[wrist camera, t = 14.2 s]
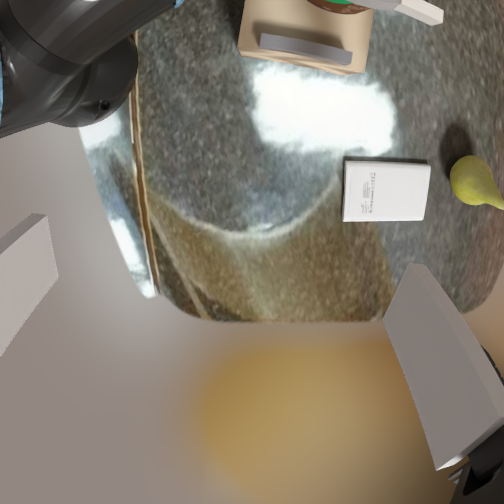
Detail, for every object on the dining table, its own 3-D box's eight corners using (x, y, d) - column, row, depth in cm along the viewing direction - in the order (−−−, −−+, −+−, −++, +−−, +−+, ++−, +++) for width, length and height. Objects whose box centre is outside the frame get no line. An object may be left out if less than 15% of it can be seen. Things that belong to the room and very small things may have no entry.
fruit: (460, 141, 33) (514, 165, 23) (483, 175, 35) (533, 206, 25) (434, 173, 36) (484, 206, 26) (458, 205, 38) (505, 243, 28)
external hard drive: (418, 216, 40) (340, 217, 41) (425, 162, 36) (343, 159, 36) (423, 221, 39) (343, 222, 39) (431, 166, 35) (346, 162, 35)
